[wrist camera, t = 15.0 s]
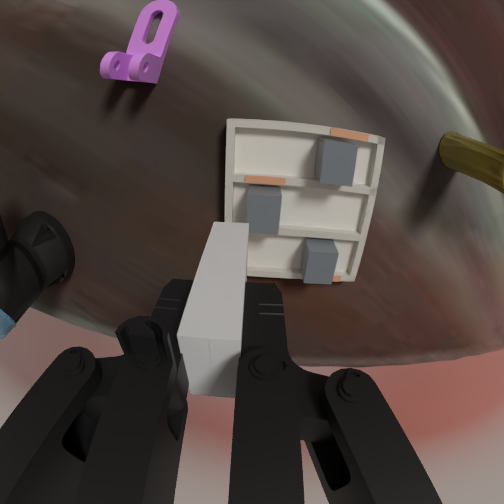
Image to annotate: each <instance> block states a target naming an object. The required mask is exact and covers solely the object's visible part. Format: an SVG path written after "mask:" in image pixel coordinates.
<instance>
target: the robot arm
mask: <svg viewBox="0 0 504 504" xmlns="http://www.w3.org/2000/svg"><path fill="white" fill-rule="evenodd" d="M248 234H249V223H234V222H214V224H213V227H212V229H211V232H210V235H209V238H208V241H207V243H206V246H205V249H204V252H203V255H202V258H201V261H200V264H199V267H198V270H197V273H196V276H195V279H194V280H182V279H173V280H172V281H170V282H169V283H168V284H167V285H166V286H165V287H164V288H163V290H162V292H161V295H160V297H159V299H158V301H157V304H156V307H155V308H154V310H153V313H152V315H151V317H149V316H138V317H135V318H132V319H128V320H127V321H125V322H124V323H122V324H121V325H120V326H119V327H118V329H117V330H116V331H115V333H116V335H117V338H118V340H119V343H120V345H121V347H122V350H123V352H124V355H121V356H116V357H107V358H95V357H94V355H93V353H92V352H90V351H89V350H88V349H87V348H83V347H71V348H69V349H66V350H64V351H63V352H62V353H61V354H60V355H58V357H57V358H56V359H55V360H54V361H53V362H52V364H51V365H50V366H49V367H48V368H47V369H46V371H45V372H44V373H43V374H42V375H41V376H40V378H39V379H38V380H37V381H36V383H35V384H34V385H33V386H32V388H31V389H30V390H29V391H28V393H27V394H26V395H25V396H24V398H23V399H22V400H21V402H20V403H19V404H18V405H17V407H16V408H15V409H14V411H13V412H12V413H11V415H10V416H9V417H8V419H7V420H6V422H5V423H4V425H3V426H2V427H1V429H0V504H173V503H174V495H175V488H176V481H177V474H178V468H179V461H180V455H181V448H182V441H183V436H184V430H185V424H186V418H187V412H188V404H187V400H186V397H187V392H188V387H189V390H190V393H191V394H197V395H207V396H217V397H231V398H235V409H234V424H233V439H232V453H231V469H230V485H229V501H228V504H304V486H303V470H302V455H301V444H300V440H304V441H305V443H306V446H307V448H308V451H309V453H310V456H311V459H312V461H313V464H314V467H315V469H316V472H317V474H318V477H319V479H320V482H321V484H322V487H323V489H324V492H325V494H326V497H327V500H328V502H329V504H442V502H441V500H440V498H439V496H438V494H437V492H436V490H435V488H434V486H433V484H432V482H431V480H430V478H429V476H428V475H427V473H426V471H425V469H424V467H423V465H422V463H421V461H420V460H419V458H418V456H417V454H416V452H415V451H414V449H413V447H412V445H411V443H410V442H409V440H408V438H407V436H406V434H405V433H404V431H403V429H402V427H401V426H400V424H399V422H398V420H397V419H396V417H395V415H394V413H393V412H392V410H391V408H390V407H389V405H388V403H387V402H386V400H385V398H384V397H383V395H382V394H381V391H380V390H379V388H378V387H377V385H376V383H375V382H374V380H373V379H372V378H371V377H370V376H369V375H368V374H366V373H364V372H362V371H360V370H357V369H353V368H347V369H340V370H338V371H336V372H334V373H332V374H331V375H330V377H328V376H324V375H320V374H316V373H312V372H309V371H306V370H303V369H302V368H301V367H299V366H297V365H296V364H295V363H294V362H293V361H292V359H291V357H290V356H289V353H288V348H287V338H286V329H285V319H284V310H283V301H282V293H281V291H280V290H279V289H278V287H277V286H276V285H275V283H252V282H246V281H247V258H248ZM74 261H75V258H74V251H73V247H72V244H71V241H70V239H69V237H68V235H67V233H66V231H65V230H64V228H63V227H62V225H61V224H60V223H59V222H58V221H57V220H56V219H55V218H54V217H52V216H51V215H49V214H48V213H45V212H42V211H36V212H33V213H31V214H30V215H29V216H27V217H26V218H25V219H24V220H23V221H22V222H21V224H20V225H19V226H18V228H17V230H16V231H15V233H14V234H13V236H12V237H11V239H10V240H9V241H8V238H7V235H6V232H5V229H4V226H3V223H2V219H1V215H0V339H1V338H4V337H5V336H6V335H7V334H8V333H9V332H10V331H11V330H12V328H13V327H15V326H16V323H17V322H18V321H19V319H20V318H21V317H22V315H23V314H24V313H25V312H26V310H27V309H28V308H29V307H30V306H31V304H32V303H33V302H34V301H35V299H36V298H37V297H38V296H39V295H40V294H41V292H42V291H43V290H45V289H47V288H49V287H52V286H54V285H56V284H58V283H60V282H62V281H63V280H65V279H66V278H67V276H68V275H69V274H70V273H71V272H72V270H73V267H74Z"/></svg>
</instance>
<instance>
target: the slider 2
mask: <svg viewBox="0 0 504 504" xmlns="http://www.w3.org/2000/svg"><path fill="white" fill-rule="evenodd" d="M357 151H358V146H357V145H355V144H352V143H350V142H347V141H341V140H334V139H327V138H320V137H318V142H317V152H316V161H315V170H314V176H315V177H316V179H317V180H318V181H319V183H325V184H333V185H341V186H349V187H352V184H353V178H354V172H355V165H356V158H357Z"/></svg>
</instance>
